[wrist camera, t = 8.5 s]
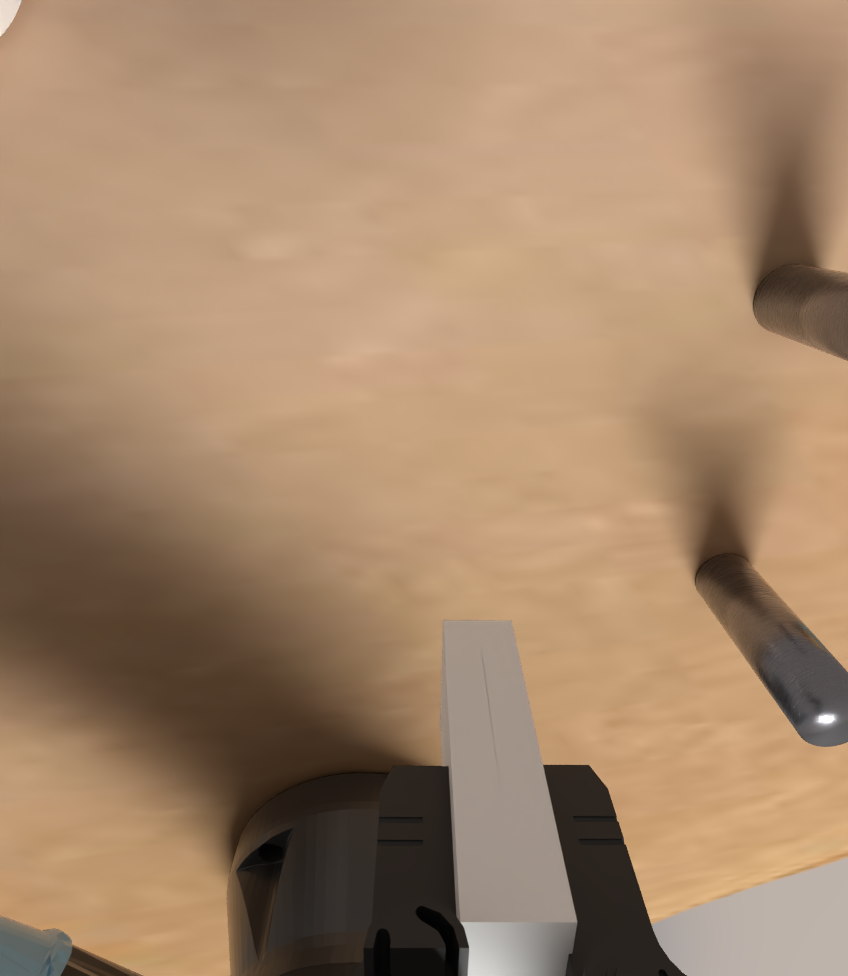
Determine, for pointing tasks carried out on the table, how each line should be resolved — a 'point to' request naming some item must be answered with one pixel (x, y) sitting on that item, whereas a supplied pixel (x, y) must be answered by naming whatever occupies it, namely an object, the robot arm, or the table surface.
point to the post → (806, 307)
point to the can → (7, 13)
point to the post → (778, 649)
